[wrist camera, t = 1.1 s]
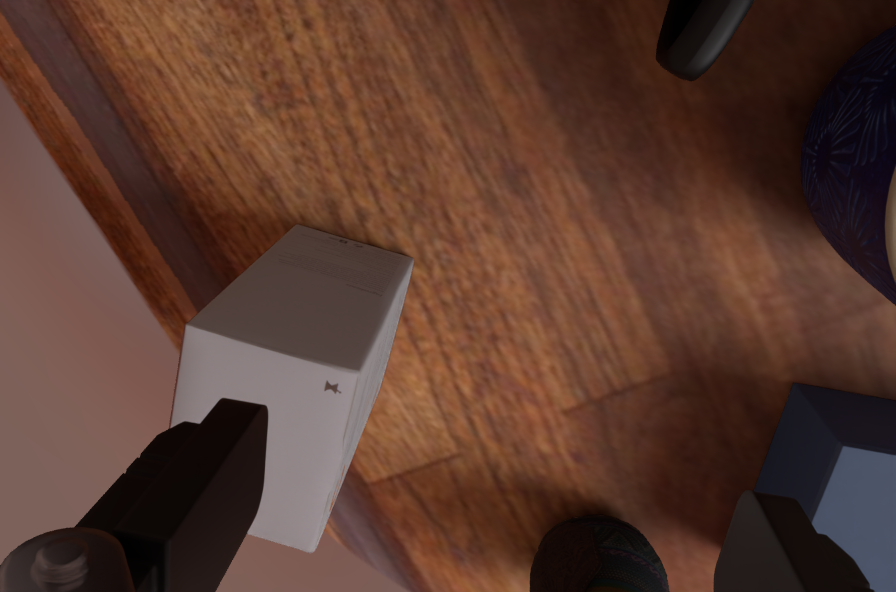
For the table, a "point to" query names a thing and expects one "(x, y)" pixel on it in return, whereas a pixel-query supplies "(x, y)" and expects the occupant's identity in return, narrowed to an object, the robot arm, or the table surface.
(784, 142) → the table surface
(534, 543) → the table surface
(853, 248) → the planter
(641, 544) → the mate gourd
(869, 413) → the blue square block
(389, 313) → the small box
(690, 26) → the mug
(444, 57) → the table surface
